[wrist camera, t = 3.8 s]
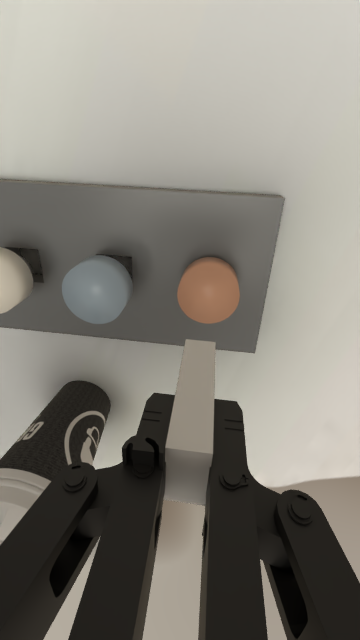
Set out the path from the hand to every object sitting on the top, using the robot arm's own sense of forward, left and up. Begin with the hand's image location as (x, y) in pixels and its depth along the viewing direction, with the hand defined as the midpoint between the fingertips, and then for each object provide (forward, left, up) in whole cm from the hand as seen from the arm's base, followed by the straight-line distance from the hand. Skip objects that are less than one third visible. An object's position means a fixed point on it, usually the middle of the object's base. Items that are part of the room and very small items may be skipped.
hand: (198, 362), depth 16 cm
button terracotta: (0, 0, -13) cm, 13 cm away
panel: (-8, 0, -14) cm, 16 cm away
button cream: (-17, 0, -11) cm, 20 cm away
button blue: (-8, 0, -11) cm, 14 cm away
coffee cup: (-14, -18, -14) cm, 27 cm away
